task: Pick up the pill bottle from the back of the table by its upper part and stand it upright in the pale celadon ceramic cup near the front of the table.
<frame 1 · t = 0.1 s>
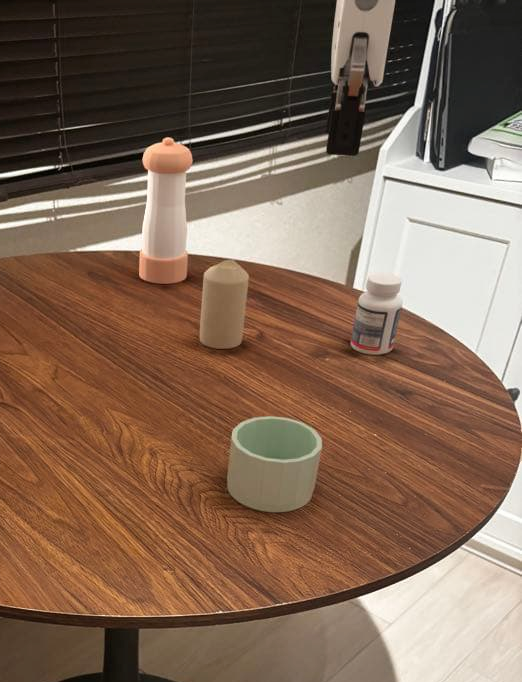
hand: (340, 143, 86), 24 cm above the table, tool pointing down, fingers open, 9 cm apart
pill bottle: (370, 348, 103), on the table
pepper shaker: (162, 276, 124), on the table
cup: (269, 487, 78), on the table
candle: (220, 341, 105), on the table
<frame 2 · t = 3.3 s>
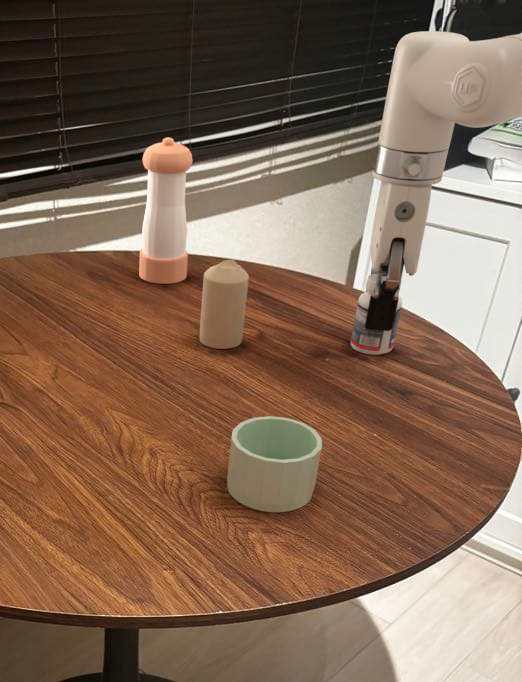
hand: (376, 318, 101), 4 cm above the table, tool pointing down, fingers closed on pill bottle, 5 cm apart
pill bottle: (370, 348, 103), on the table, touching gripper
everything else where it was.
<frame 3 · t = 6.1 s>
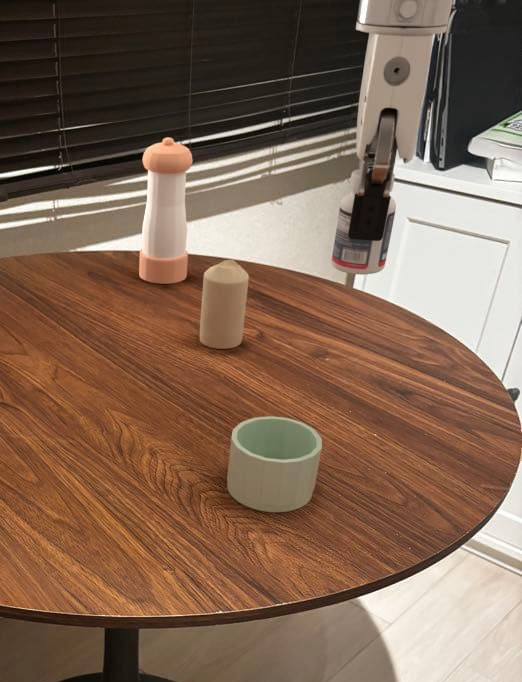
hand: (364, 227, 80), 19 cm above the table, tool pointing down, fingers closed on pill bottle, 5 cm apart
pill bottle: (356, 268, 82), point 15 cm above the table, touching gripper
everything else where it was.
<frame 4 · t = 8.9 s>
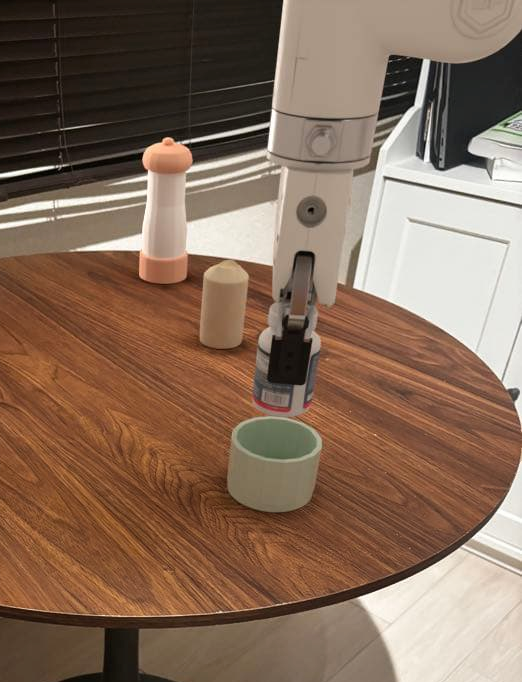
hand: (287, 364, 70), 13 cm above the table, tool pointing down, fingers closed on pill bottle, 5 cm apart
pill bottle: (280, 406, 72), point 9 cm above the table, touching gripper
everything else where it was.
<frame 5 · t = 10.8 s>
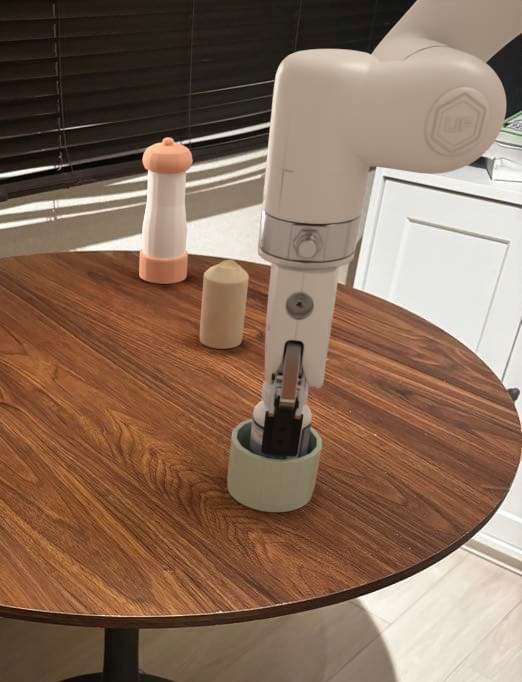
hand: (280, 434, 74), 6 cm above the table, tool pointing down, fingers closed on pill bottle, 5 cm apart
pill bottle: (274, 471, 77), point 2 cm above the table, touching gripper
everything else where it was.
when the fingers open (6 cm above the table, at t = 14.9 s): pill bottle drops 1 cm, resting on cup.
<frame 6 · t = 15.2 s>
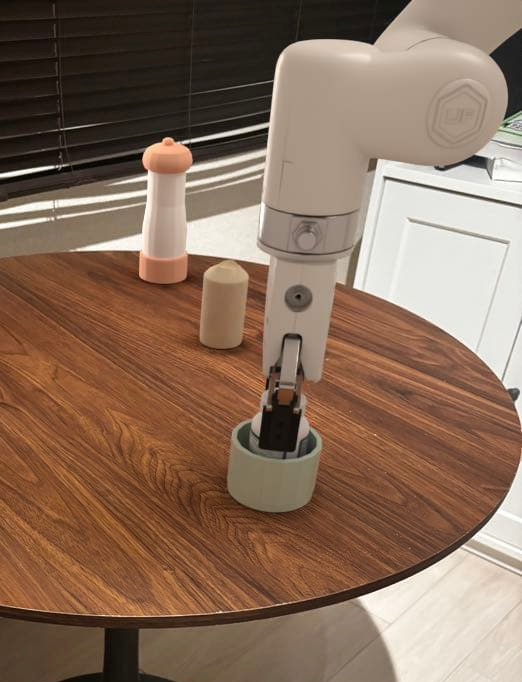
hand: (278, 423, 74), 7 cm above the table, tool pointing down, fingers open, 8 cm apart
pill bottle: (272, 482, 78), point 1 cm above the table, touching cup
everything else where it was.
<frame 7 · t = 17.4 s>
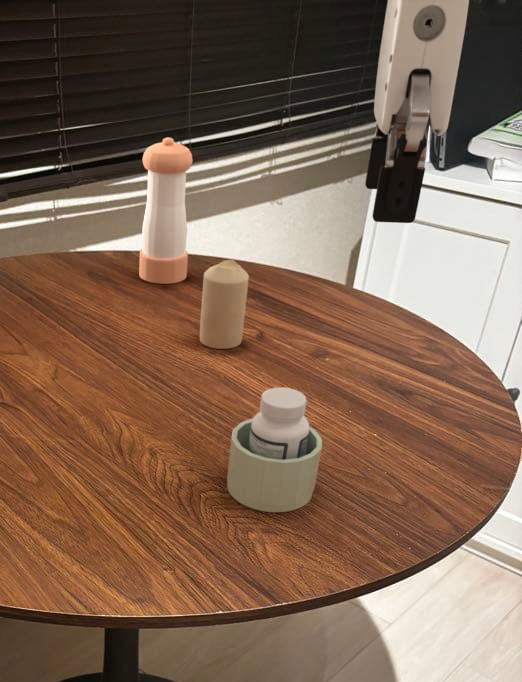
hand: (387, 204, 68), 25 cm above the table, tool pointing down, fingers open, 9 cm apart
nothing on the table moved.
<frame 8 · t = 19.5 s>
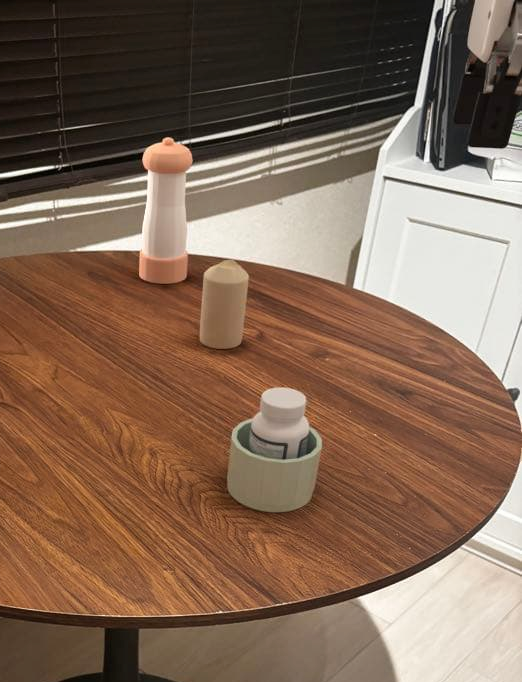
hand: (477, 134, 71), 28 cm above the table, tool pointing down, fingers open, 9 cm apart
nothing on the table moved.
at the end: pill bottle 0.2 cm off-centre in the cup, point 0.6 cm above the cup's base; pill bottle tilted 0° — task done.
